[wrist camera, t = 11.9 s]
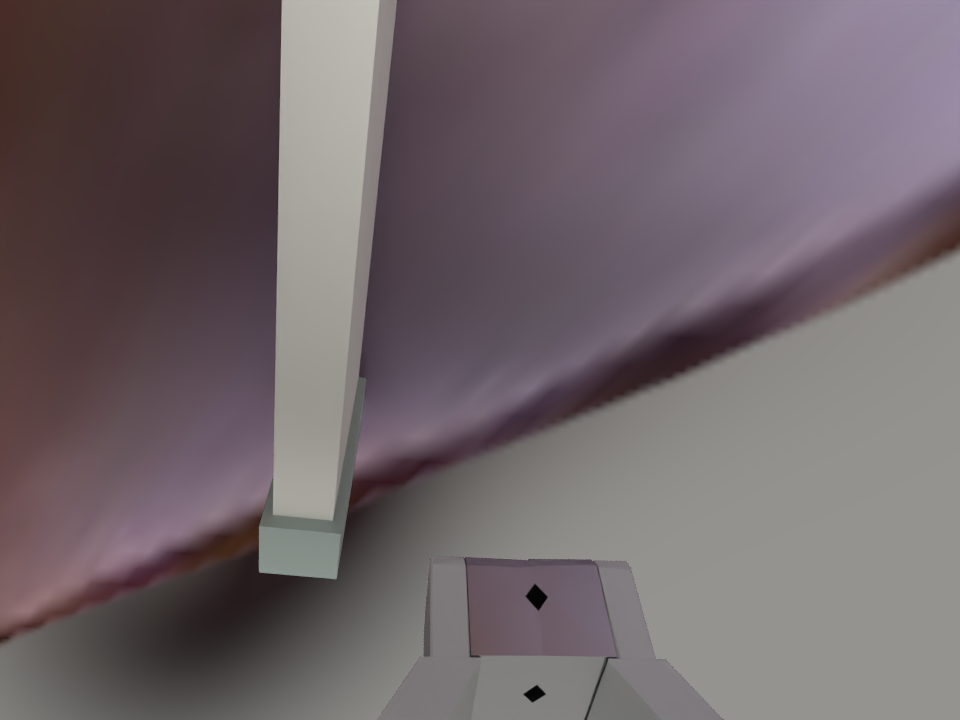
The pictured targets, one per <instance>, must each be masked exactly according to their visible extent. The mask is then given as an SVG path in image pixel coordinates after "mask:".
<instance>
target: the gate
mask: <svg viewBox="0 0 960 720" xmlns="http://www.w3.org/2000/svg"><path fill="white" fill-rule="evenodd" d="M396 6H397V0H282V23H281V79H280V136H279V192H278V249H277V306H276V362H275V419H274V475H273V479H272V483H271V486H270V490H269V493H268V497H267V500H266V504H265V507H264V511H263V514H262V518H261V521H260V525H259V572H262V573H273V574H285V575H297V576H307V577H318V578H330V579H337V573H338V566H339V560H340V554H341V548H342V540H343V535H344V529H345V522H346V516H347V510H348V504H349V497H350V491H351V485H352V479H353V472H354V466H355V460H356V454H357V447H358V441H359V435H360V429H361V422H362V414H363V405H364V396H365V387H366V378H362V377H359V369H360V359H361V349H362V340H363V330H364V320H365V310H366V300H367V291H368V281H369V271H370V261H371V251H372V242H373V232H374V222H375V212H376V202H377V193H378V183H379V173H380V163H381V153H382V144H383V134H384V124H385V114H386V104H387V95H388V85H389V75H390V65H391V55H392V46H393V36H394V26H395V16H396Z"/></svg>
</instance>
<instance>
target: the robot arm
mask: <svg viewBox="0 0 960 720" xmlns="http://www.w3.org/2000/svg"><path fill="white" fill-rule="evenodd" d="M426 596H427V597H426V607H425V608H426V609H425V624H424V655H423V657H420V658H419V659H418V661H417V662H416V663H415V665H414V667H413V668H412V669H411V671H410V672H409V674H408V675H407V677H406V678H405V680H404V681H403V682H402V684H401V685H400V687H399V688H398V690H397V691H396V693H395V694H394V696H393V697H392V699H391V700H390V701H389V703H388V704H387V706H386V707H385V709H384V710H383V712H382V713H381V715H380V716H379V718H378V719H377V720H723V719H722V718H721V717H720V715H718V713H717V712H716V711H715V710H714V709H713V708H712V707H711V706H710V705H709V704H708V703H707V702H706V701H705V700H704V699H703V698H702V697H701V696H700V695H699V694H698V693H697V691H695V689H694V688H693V687H692V686H691V685H690V684H689V683H688V682H687V681H686V680H685V679H684V678H683V677H682V676H681V675H680V674H679V673H678V672H677V671H676V670H675V669H674V667H673V666H672V665H671V664H670V663H669V662H668V661H667V660H665V659H656V657H655V654H654V650H653V647H652V643H651V639H650V636H649V632H648V629H647V625H646V622H645V617H644V614H643V610H642V607H641V603H640V599H639V596H638V592H637V588H636V585H635V581H634V578H633V574H632V570H631V567H630V566H629V564H628V563H627V562H626V561H592V560H575V559H528V560H512V559H492V558H471V557H465V558H464V557H445V556H444V557H442V556H431V558H430V564H429V575H428V586H427V595H426Z"/></svg>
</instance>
